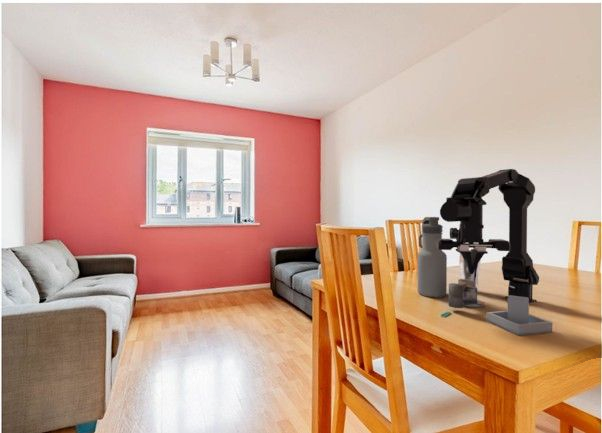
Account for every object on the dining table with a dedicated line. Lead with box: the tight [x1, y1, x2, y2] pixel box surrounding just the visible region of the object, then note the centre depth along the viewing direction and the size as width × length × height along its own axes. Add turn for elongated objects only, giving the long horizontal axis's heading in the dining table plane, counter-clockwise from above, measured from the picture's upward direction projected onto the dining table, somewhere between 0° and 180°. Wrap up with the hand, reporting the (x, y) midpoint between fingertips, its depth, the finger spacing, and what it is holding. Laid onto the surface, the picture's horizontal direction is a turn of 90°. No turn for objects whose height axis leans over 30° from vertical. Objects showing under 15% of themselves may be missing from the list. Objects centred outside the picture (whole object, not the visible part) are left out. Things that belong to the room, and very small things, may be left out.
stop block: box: [507, 294, 530, 324], centre depth 83 cm, size 4×4×7 cm
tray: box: [486, 309, 553, 337], centre depth 83 cm, size 10×10×2 cm
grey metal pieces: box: [440, 287, 484, 318], centre depth 100 cm, size 20×14×6 cm
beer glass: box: [458, 249, 481, 294], centre depth 118 cm, size 7×7×15 cm
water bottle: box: [416, 216, 448, 298], centre depth 115 cm, size 10×10×28 cm
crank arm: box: [448, 278, 476, 309], centre depth 100 cm, size 14×5×6 cm, turn 135°
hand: (470, 273), depth 93 cm, fingers closed
